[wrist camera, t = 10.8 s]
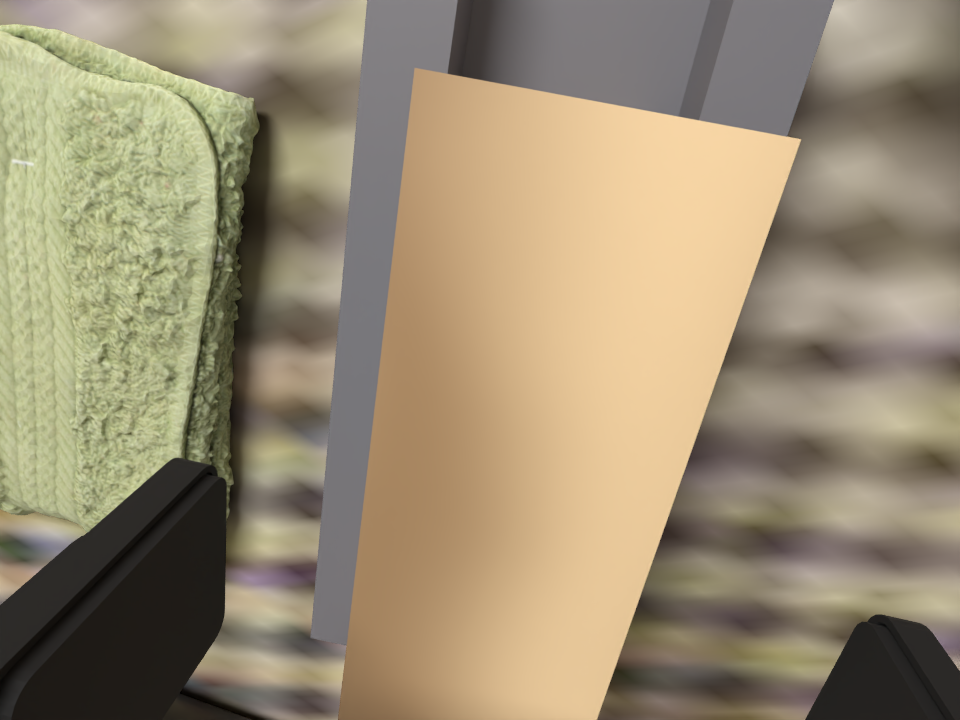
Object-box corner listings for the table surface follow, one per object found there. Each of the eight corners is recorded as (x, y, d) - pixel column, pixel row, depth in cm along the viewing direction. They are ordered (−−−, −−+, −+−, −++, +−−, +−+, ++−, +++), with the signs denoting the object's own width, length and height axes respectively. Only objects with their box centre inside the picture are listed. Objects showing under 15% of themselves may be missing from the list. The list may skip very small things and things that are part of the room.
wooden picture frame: (648, 121, 16) (811, 140, 6) (539, 541, 22) (532, 918, 12) (493, 92, 17) (405, 66, 6) (423, 517, 22) (315, 869, 12)
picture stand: (789, -25, 16) (861, -64, 12) (588, 610, 25) (595, 699, 21) (414, -92, 16) (375, -151, 13) (343, 559, 25) (307, 637, 21)
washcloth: (282, 83, 19) (233, 78, 16) (238, 538, 26) (198, 594, 23) (-132, -22, 19) (-258, -46, 16) (-67, 459, 26) (-146, 504, 23)
